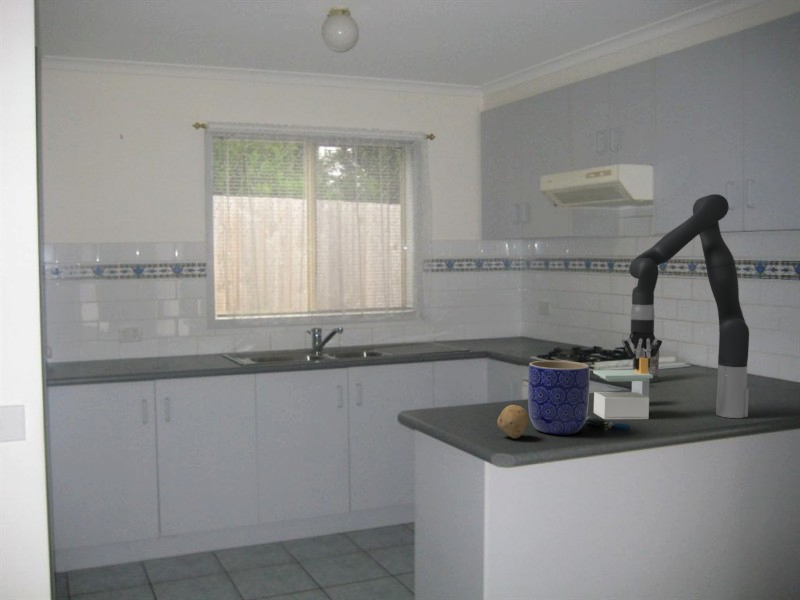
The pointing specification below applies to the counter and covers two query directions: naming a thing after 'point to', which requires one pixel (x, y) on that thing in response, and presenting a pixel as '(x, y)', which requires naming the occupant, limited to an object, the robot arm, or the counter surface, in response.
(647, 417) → the tub
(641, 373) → the lid
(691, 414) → the counter surface
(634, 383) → the skincare box
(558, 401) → the planter
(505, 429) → the potato
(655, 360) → the liquor
